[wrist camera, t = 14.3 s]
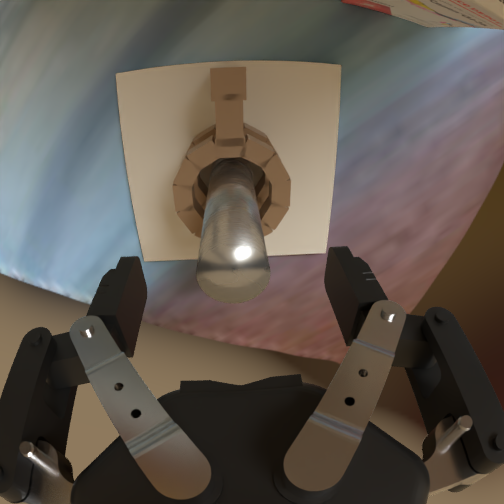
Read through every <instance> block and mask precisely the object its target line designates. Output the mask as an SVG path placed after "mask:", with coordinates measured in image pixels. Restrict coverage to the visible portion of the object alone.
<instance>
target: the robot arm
mask: <svg viewBox="0 0 504 504" xmlns="http://www.w3.org/2000/svg"><path fill="white" fill-rule="evenodd" d="M324 283H325V289H326V292H327V295H328V297H329V300H330V303H331V305H332V308H333V311H334V313H335V316H336V319H337V321H338V324H339V327H340V329H341V332H342V335H343V338H344V340H345V343H346V346H350V348H349V350H348V352H347V354H346V356H345V358H344V360H343V362H342V364H341V365H340V367H339V369H338V371H337V373H336V375H335V376H334V378H333V380H332V382H331V384H330V385H329V387H328V389H327V390H326V389H324V388H322V387H320V386H317V385H314V384H309V383H303V382H302V379H301V375H300V374H297V375H287V376H276V377H269V378H266V379H263V380H259V381H256V382H252V383H249V384H245V385H233V384H227V383H222V382H216V381H211V380H203V381H181V384H180V390H176V391H173V392H170V393H167V394H165V395H163V396H161V397H160V398H158V399H156V398H155V397H154V395H153V394H152V393H151V391H150V390H149V389H148V387H147V386H146V384H145V383H144V381H143V380H142V379H141V377H140V376H139V375H138V373H137V371H136V370H135V369H134V367H133V366H132V364H131V363H130V361H129V360H128V358H127V357H133V355H134V350H135V345H136V341H137V337H138V332H139V328H140V324H141V320H142V316H143V311H144V307H145V303H146V299H147V286H146V282H145V278H144V274H143V270H142V266H141V262H140V259H139V257H138V256H132V257H121V258H120V260H119V262H118V264H117V267H116V269H110V270H109V271H108V272H107V273H106V274H105V275H104V276H103V277H102V280H101V282H100V284H99V287H98V289H97V291H96V294H95V296H94V298H93V300H92V303H91V305H90V308H89V310H88V313H87V315H86V316H85V317H82V318H80V319H78V320H77V321H76V322H74V324H73V325H72V326H71V328H70V332H67V333H63V334H58V335H54V336H52V335H51V333H50V331H49V330H48V329H47V328H43V327H38V328H35V329H32V330H31V331H29V332H28V333H27V334H26V335H25V336H24V338H23V340H22V342H21V344H20V347H19V349H18V352H17V354H16V357H15V359H14V362H13V364H12V367H11V370H10V372H9V375H8V378H7V381H6V384H5V386H4V389H3V392H2V395H1V398H0V496H1V497H3V498H4V499H6V500H7V501H9V502H10V503H12V504H426V503H427V499H428V497H429V496H432V495H434V494H437V493H440V492H442V491H445V490H448V491H451V492H459V491H462V490H463V489H465V488H467V487H469V486H470V485H472V484H474V483H475V482H477V481H478V480H480V479H482V478H483V477H485V476H486V475H488V474H489V473H491V472H492V471H494V470H495V469H497V468H498V467H500V466H501V465H502V464H504V411H503V409H502V407H501V405H500V402H499V400H498V398H497V396H496V394H495V392H494V389H493V387H492V385H491V383H490V381H489V379H488V377H487V375H486V373H485V371H484V369H483V367H482V365H481V363H480V361H479V359H478V357H477V356H476V354H475V352H474V350H473V348H472V346H471V344H470V343H469V341H468V339H467V337H466V335H465V334H464V332H463V330H462V329H461V327H460V325H459V323H458V322H457V320H456V318H455V317H454V315H453V314H452V313H451V312H449V311H448V310H446V309H444V308H441V307H432V308H430V309H428V310H427V312H426V314H425V316H416V315H409V314H406V313H405V311H404V309H403V308H402V307H401V306H400V305H399V304H397V303H395V302H393V301H389V300H388V298H387V297H386V295H385V293H384V291H383V289H382V288H381V286H380V284H379V283H378V281H377V280H376V277H375V276H374V274H373V273H372V271H371V269H370V267H369V265H368V264H367V263H366V262H365V261H363V260H362V259H361V258H359V257H353V255H352V253H351V251H350V250H349V248H348V247H347V246H342V247H330V248H329V251H328V257H327V264H326V270H325V278H324ZM391 366H397V367H404V368H405V370H406V373H407V376H408V378H409V381H410V384H411V386H412V389H413V392H414V394H415V397H416V400H417V403H418V406H419V409H420V412H421V415H422V418H423V421H424V424H425V427H426V430H427V434H428V435H427V436H426V437H425V439H424V441H423V444H422V453H423V458H422V460H421V458H420V457H419V456H418V455H416V454H415V453H414V452H413V451H411V450H410V449H408V448H407V447H405V446H404V445H402V444H401V443H399V442H398V441H397V440H395V439H394V438H392V437H391V436H390V435H388V434H387V433H385V432H384V431H382V430H381V429H380V428H379V427H377V426H376V425H374V424H373V423H372V422H370V421H369V419H370V417H371V415H372V413H373V410H374V408H375V405H376V403H377V401H378V398H379V396H380V393H381V391H382V389H383V386H384V384H385V381H386V378H387V376H388V373H389V370H390V368H391ZM85 383H91V385H92V386H93V388H94V391H95V392H96V394H97V396H98V398H99V400H100V402H101V404H102V405H103V407H104V409H105V411H106V412H107V414H108V416H109V418H110V419H111V421H112V423H113V425H114V426H115V428H116V429H117V431H118V433H119V434H120V436H119V437H118V438H117V439H115V440H114V441H113V442H112V443H111V444H110V445H109V446H108V447H107V448H106V449H105V450H104V451H103V452H102V453H101V454H100V455H99V456H98V457H97V458H96V459H95V460H94V461H93V462H92V463H91V464H90V465H89V466H88V467H87V468H86V469H85V470H83V471H82V472H81V473H80V474H79V476H78V477H77V478H76V480H75V481H74V478H73V469H72V465H71V463H70V461H69V460H68V459H67V458H66V457H65V451H66V445H67V438H68V432H69V427H70V421H71V416H72V410H73V406H74V400H75V395H76V391H77V387H78V385H80V384H85Z"/></svg>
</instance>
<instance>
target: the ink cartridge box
mask: <svg viewBox="0 0 504 504" xmlns="http://www.w3.org/2000/svg"><path fill="white" fill-rule="evenodd" d="M341 2H343V3H348V4H352V5H357V6H361V7H365V8H369V9H372V10H376V11H379V12H383V13H386V14H389V15H393V16H396V17H399V18H402V19H405V20H408V21H411V22H414V23H417V24H419V25H422V26H425V27H473V28H490V29H502V30H504V0H341Z"/></svg>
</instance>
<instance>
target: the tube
mask: <svg viewBox="0 0 504 504" xmlns="http://www.w3.org/2000/svg"><path fill="white" fill-rule="evenodd" d="M196 277H197V281H198V284H199V286H200V288H201V289H202V290H203V292H205V293H206V294H207V295H208V296H209V297H211V298H213V299H215V300H217V301H220V302H224V303H241V302H246V301H249V300H251V299H253V298H255V297H257V296H258V295H259V294H260V293H262V292H263V290H264V289H265V288H266V286H267V285H268V282H269V279H270V267H269V262H268V256H267V251H266V246H265V240H264V235H263V230H262V225H261V220H260V214H259V209H258V204H257V199H256V194H255V189H254V184H253V177H252V173H251V168H250V163H249V161H248V160H246V159H244V158H242V157H235V158H219V159H217V160H216V161H214V162H213V163H212V169H211V174H210V179H209V187H208V194H207V200H206V206H205V213H204V220H203V227H202V234H201V241H200V248H199V255H198V263H197V271H196Z"/></svg>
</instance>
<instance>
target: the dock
mask: <svg viewBox="0 0 504 504" xmlns="http://www.w3.org/2000/svg"><path fill="white" fill-rule="evenodd" d="M116 84H117V95H118V106H119V115H120V124H121V132H122V140H123V148H124V155H125V162H126V168H127V175H128V181H129V187H130V193H131V198H132V204H133V209H134V214H135V220H136V225H137V230H138V234H139V239H140V244H141V248H142V253H143V257H144V261H166V260H188V259H198V255H199V248H200V241H201V234H202V227H203V220H204V213H205V206H206V200H207V194H208V187H209V179H210V174H211V169H212V163H213V162H214V161H216V160H217V159H219V158H235V157H242V158H244V159H246V160H248V161H249V163H250V168H251V173H252V177H253V184H254V189H255V194H256V199H257V204H258V209H259V214H260V220H261V225H262V230H263V235H264V240H265V246H266V251H267V256H274V255H295V254H316V253H326V246H327V239H328V231H329V222H330V214H331V205H332V195H333V186H334V175H335V164H336V152H337V139H338V125H339V108H340V88H341V65H337V64H326V63H314V62H298V61H264V60H252V61H218V62H202V63H190V64H179V65H170V66H162V67H154V68H147V69H140V70H134V71H128V72H122V73H117V74H116Z"/></svg>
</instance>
